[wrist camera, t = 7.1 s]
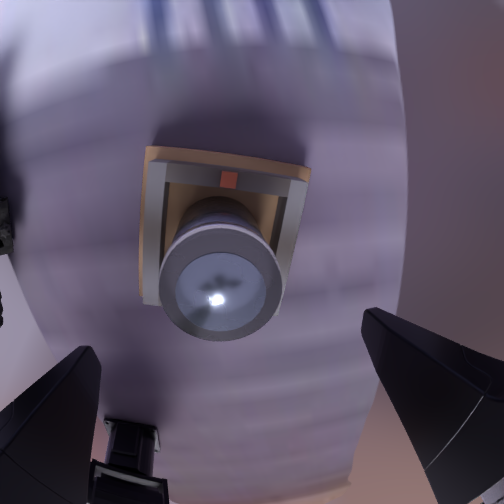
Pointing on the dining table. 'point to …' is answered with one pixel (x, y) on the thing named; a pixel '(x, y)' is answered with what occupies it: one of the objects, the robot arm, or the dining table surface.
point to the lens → (219, 272)
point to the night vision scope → (4, 237)
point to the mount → (215, 184)
